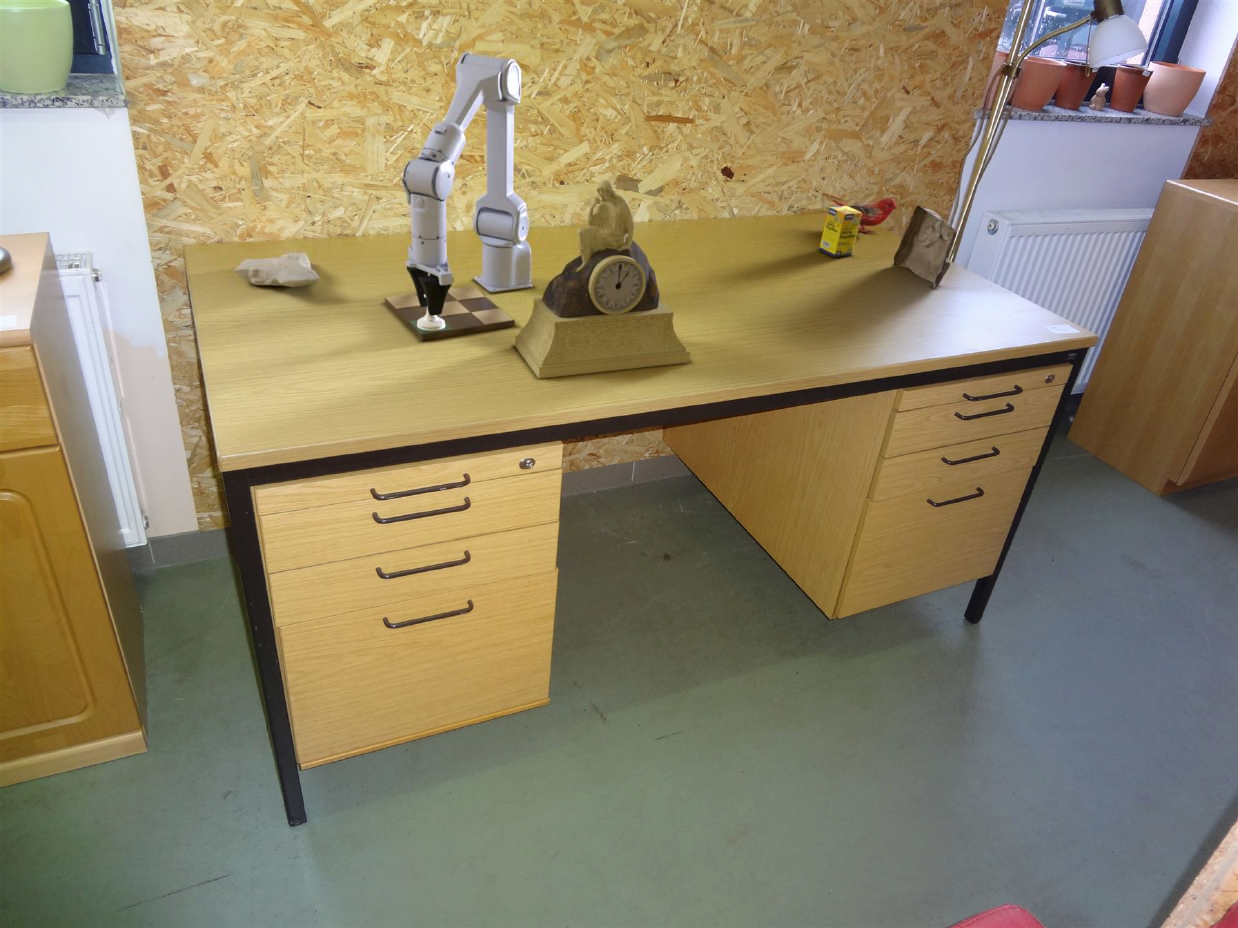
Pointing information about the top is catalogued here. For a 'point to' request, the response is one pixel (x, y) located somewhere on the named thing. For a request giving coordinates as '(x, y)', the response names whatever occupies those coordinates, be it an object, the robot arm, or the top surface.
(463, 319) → the game board
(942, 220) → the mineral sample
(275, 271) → the rock
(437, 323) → the chess piece
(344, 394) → the top surface
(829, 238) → the supplement box
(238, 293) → the top surface
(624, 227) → the decorative clock
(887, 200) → the decorative bird figurine
